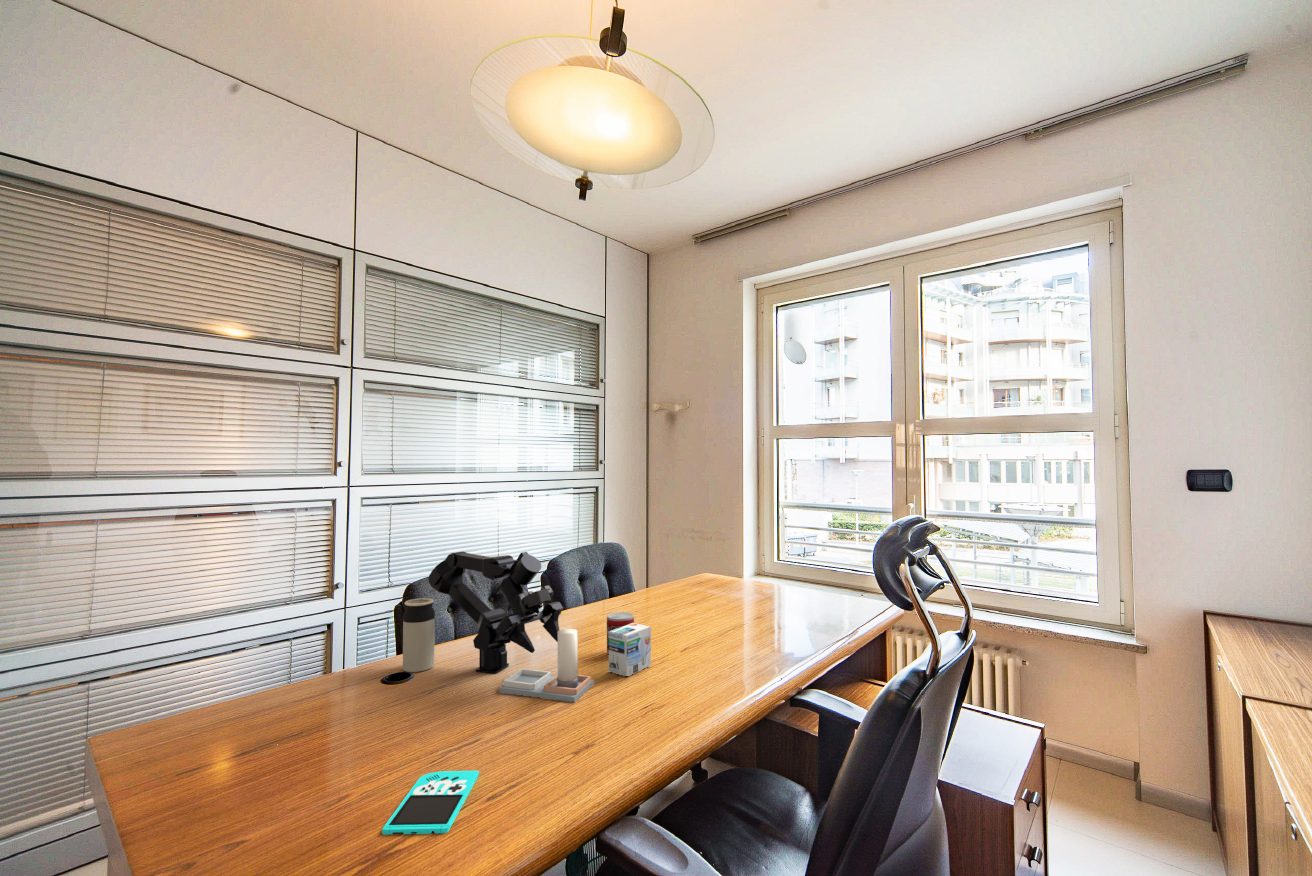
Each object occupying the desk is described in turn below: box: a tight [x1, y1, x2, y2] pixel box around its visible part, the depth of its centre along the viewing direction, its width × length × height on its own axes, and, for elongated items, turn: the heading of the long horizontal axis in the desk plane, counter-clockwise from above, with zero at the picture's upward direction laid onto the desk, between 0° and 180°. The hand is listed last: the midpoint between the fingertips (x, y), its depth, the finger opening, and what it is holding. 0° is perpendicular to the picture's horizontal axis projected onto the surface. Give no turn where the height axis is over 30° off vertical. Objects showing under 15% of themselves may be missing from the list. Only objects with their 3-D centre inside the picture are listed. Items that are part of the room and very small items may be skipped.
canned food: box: [606, 611, 635, 655], centre depth 162 cm, size 8×8×11 cm
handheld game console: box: [381, 770, 480, 836], centre depth 91 cm, size 10×16×1 cm, turn 1°
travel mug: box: [402, 597, 436, 673], centre depth 152 cm, size 8×8×18 cm
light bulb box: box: [608, 622, 652, 677], centre depth 150 cm, size 11×7×11 cm, turn 143°
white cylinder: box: [557, 628, 579, 688], centre depth 135 cm, size 5×5×13 cm
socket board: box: [498, 668, 595, 703], centre depth 137 cm, size 20×11×2 cm, turn 72°
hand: (547, 646), depth 139 cm, fingers open, 9 cm apart
